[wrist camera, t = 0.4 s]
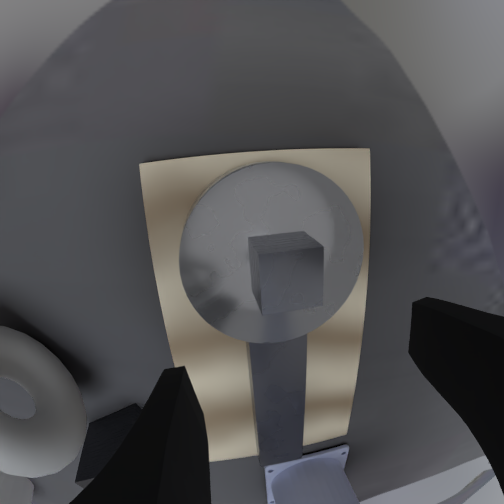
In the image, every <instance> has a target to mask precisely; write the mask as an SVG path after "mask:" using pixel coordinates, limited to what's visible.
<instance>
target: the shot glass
mask: <svg viewBox="0 0 504 504" xmlns="http://www.w3.org/2000/svg"><path fill="white" fill-rule="evenodd" d="M33 491H34V485H33V484H32V482H31V481H30V480H29V479H28V478H27V477H22V476H15V475H9V474H6V473H4V472H2V471H0V504H32V497H33Z"/></svg>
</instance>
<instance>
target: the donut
mask: <svg viewBox="0 0 504 504" xmlns="http://www.w3.org/2000/svg"><path fill="white" fill-rule="evenodd" d="M0 378H6V379H9V380H12V381H14V382H16V383H18V384H19V385H21V386H22V387H23V388H24V389H25V390H26V391H27V392H28V393H29V394H30V396H31V397H32V398H33V400H34V403H35V407H36V413H35V414H34V416H33V417H31V418H29V419H18V418H13V417H11V416H9V415H7V414H6V413H4V412H2V411H1V410H0V471H2V472H4V473H6V474H9V475H15V476H22V477H29V478H36V477H41V476H45V475H50V474H54V473H57V472H59V471H60V470H62V469H63V468H64V467H65V466H67V465H68V464H69V463H71V462H72V461H73V460H74V459H75V458H76V456H77V454H78V452H79V450H80V448H81V446H82V444H83V442H84V440H85V438H86V425H87V415H86V411H85V406H84V402H83V398H82V394H81V392H80V390H79V388H78V386H77V384H76V382H75V380H74V378H73V376H72V375H71V374H70V372H69V371H68V370H67V369H66V367H65V366H64V365H63V364H62V362H61V361H60V360H59V358H57V357H56V356H55V355H54V354H53V353H52V352H51V351H49V350H48V349H47V348H46V347H45V346H44V345H43V344H41V343H40V342H38V341H36V340H35V339H33V338H31V337H30V336H28V335H27V334H25V333H22V332H19V331H17V330H14V329H11V328H8V327H6V326H0Z"/></svg>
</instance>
